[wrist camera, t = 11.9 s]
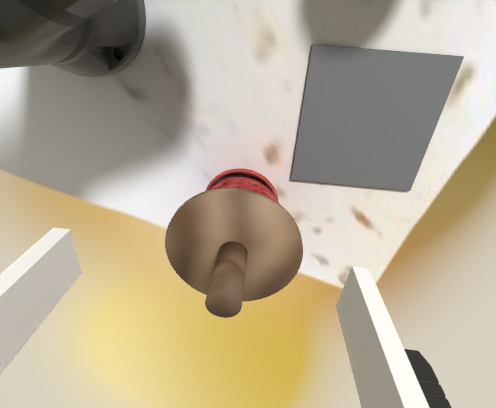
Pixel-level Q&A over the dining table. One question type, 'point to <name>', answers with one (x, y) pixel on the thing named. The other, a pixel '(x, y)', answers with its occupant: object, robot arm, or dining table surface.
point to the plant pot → (244, 182)
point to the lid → (233, 247)
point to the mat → (370, 115)
